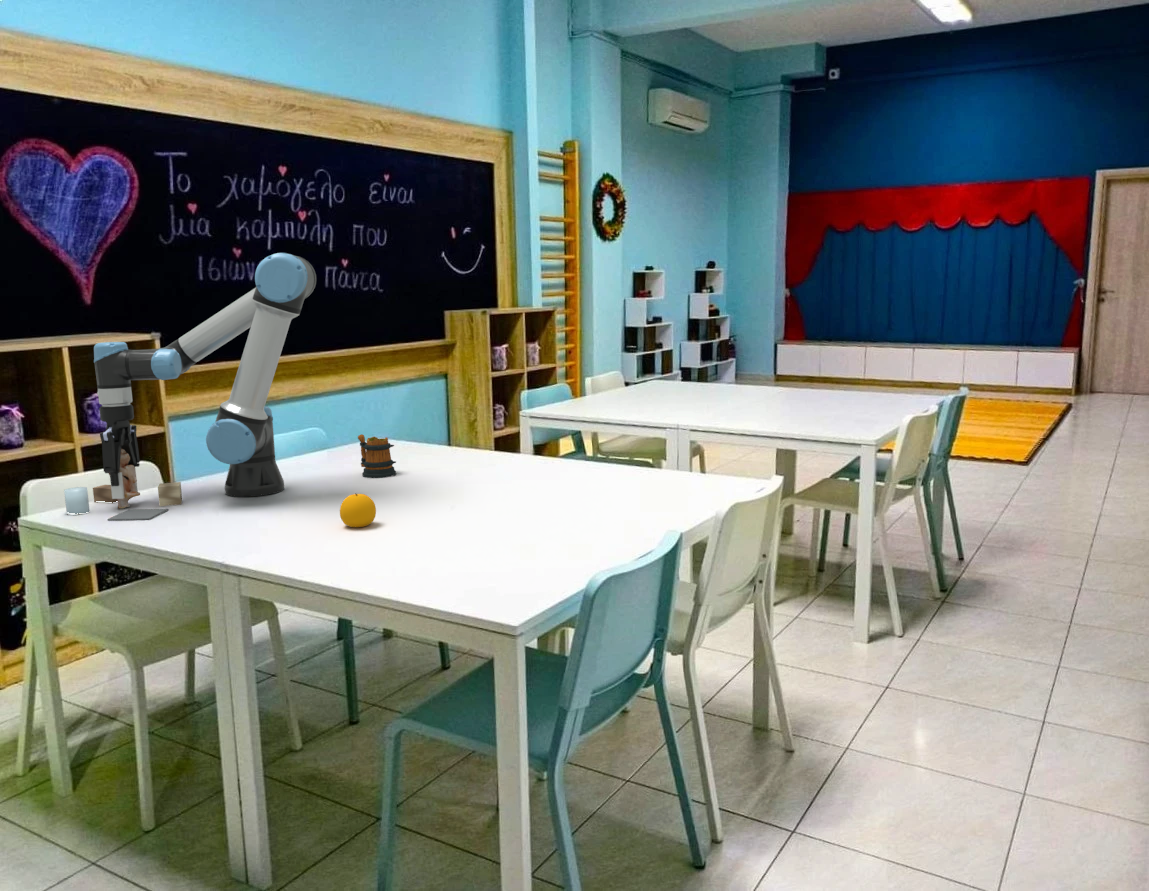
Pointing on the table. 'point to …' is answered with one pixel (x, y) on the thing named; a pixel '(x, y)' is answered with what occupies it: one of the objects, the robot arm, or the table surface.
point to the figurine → (127, 480)
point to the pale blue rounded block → (77, 500)
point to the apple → (357, 510)
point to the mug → (376, 457)
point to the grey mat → (137, 514)
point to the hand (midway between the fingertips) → (125, 495)
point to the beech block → (170, 494)
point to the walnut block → (103, 493)
